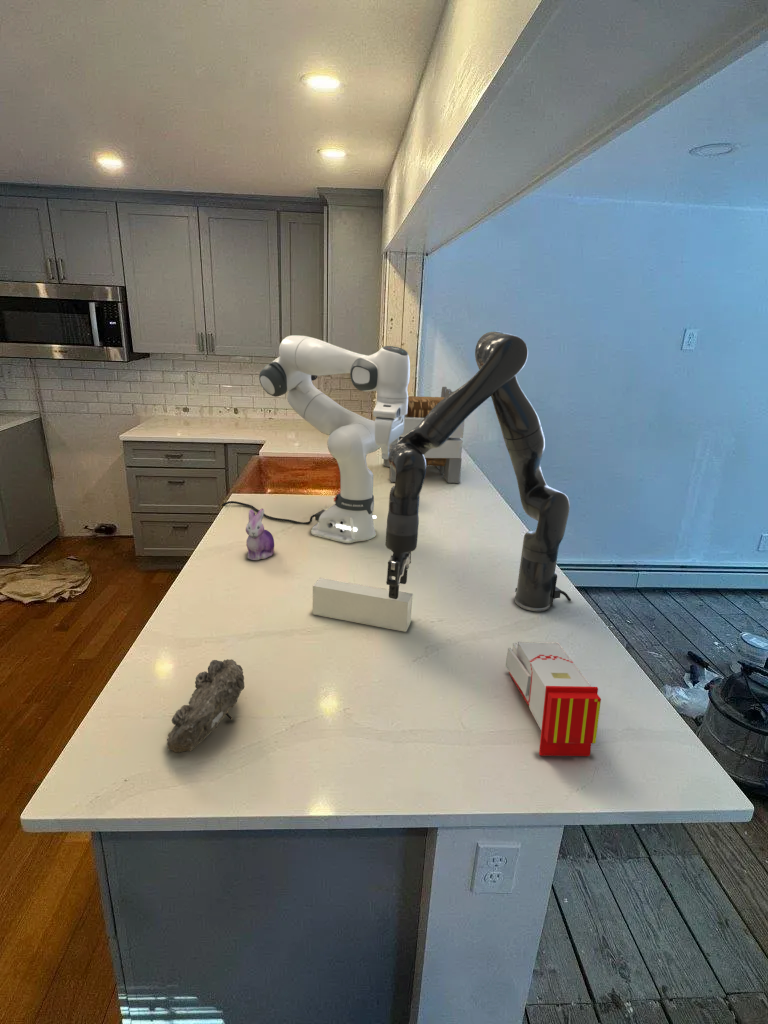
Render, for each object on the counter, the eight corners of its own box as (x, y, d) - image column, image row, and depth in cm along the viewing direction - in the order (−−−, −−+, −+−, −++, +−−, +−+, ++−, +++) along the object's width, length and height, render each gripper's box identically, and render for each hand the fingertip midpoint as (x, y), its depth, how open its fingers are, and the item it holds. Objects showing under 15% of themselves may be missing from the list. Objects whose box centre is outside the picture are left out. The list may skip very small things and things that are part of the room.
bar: (312, 614, 146) (312, 585, 143) (319, 605, 150) (320, 577, 147) (406, 632, 139) (408, 602, 137) (410, 622, 144) (412, 593, 141)
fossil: (192, 660, 117) (244, 628, 112) (224, 691, 120) (276, 661, 115) (142, 746, 98) (202, 712, 93) (182, 779, 101) (242, 748, 96)
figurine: (249, 563, 172) (248, 517, 167) (241, 550, 180) (239, 506, 175) (280, 558, 176) (279, 513, 171) (270, 546, 184) (269, 502, 179)
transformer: (382, 463, 289) (386, 382, 275) (445, 464, 293) (451, 384, 279) (390, 482, 257) (394, 392, 243) (460, 483, 261) (468, 394, 247)
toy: (554, 624, 127) (610, 694, 97) (548, 679, 130) (602, 763, 100) (500, 623, 126) (541, 693, 97) (496, 678, 129) (534, 763, 100)
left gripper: (390, 400, 169) (387, 446, 174) (371, 411, 150) (369, 462, 155) (410, 402, 168) (407, 448, 172) (394, 413, 149) (391, 464, 154)
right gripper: (410, 541, 126) (405, 606, 132) (424, 521, 139) (419, 580, 145) (378, 536, 128) (374, 600, 133) (394, 517, 141) (390, 575, 146)
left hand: (389, 455), depth 164 cm, fingers open, 8 cm apart
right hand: (397, 590), depth 139 cm, fingers open, 8 cm apart
